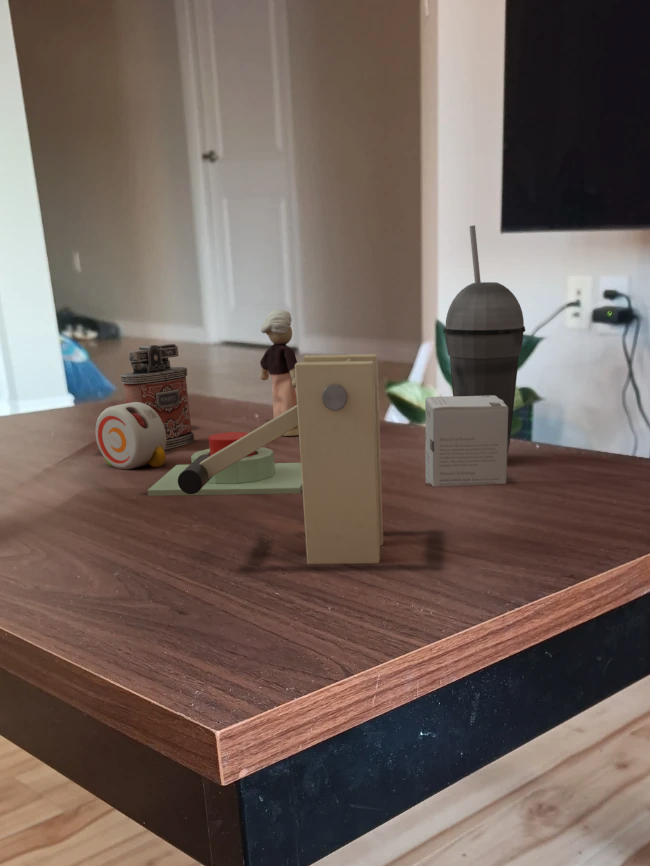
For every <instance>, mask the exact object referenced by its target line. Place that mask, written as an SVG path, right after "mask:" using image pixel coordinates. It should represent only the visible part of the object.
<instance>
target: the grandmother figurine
mask: <svg viewBox="0 0 650 866" xmlns="http://www.w3.org/2000/svg"><path fill="white" fill-rule="evenodd" d="M292 321H293V319H292V315H291V313H290V312H289V311H288V310H284V309H279V308H278V309H274V310H272V311H271V312H270V313H268V315H266V317H265V319H264V321H263V323H262V324H261V327H260V332H261V333H262V334H266V335H267V337H268V339H269V340H270V342H271V343H272V345H271V346H269V347H268V349H266V351H265V352H264V354H263V356H262V357H261V359H260V363H259V364H260V373H259V378H260V380H262V381H267V380H268V379H269V377H270V379H271V381H272V391H271V395H272V411H273V413H272V414H273V419H274V418H276V417H277V416H279V415H281V414H282V413H284V412H286V411H287V410H289V409H291V408H292V407H294V406H296V405H297V395H296V379H295V364H296V363H298V360H297V356H296V352H295V351H294V349H292V348H290V347H289V346H288V344H289V343H290V341H292V338H293V329H292V326H291V325H292ZM294 436H295V437H296V436H298V437H299V426H297V427H295V428H294V429H292V430H290V431H288V432H287V433H285V434H283V435H282V437H294Z"/></svg>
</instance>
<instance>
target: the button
mask: <svg viewBox="0 0 650 866" xmlns="http://www.w3.org/2000/svg"><path fill="white" fill-rule="evenodd" d="M249 433H250V432H246V431H230V432H229V431H228V432H220V433H214V434H211V435H209V436H208V445H209V449H210V455H213V454H215V453H216V452H218V451H220V450H222V449H223V448H225V447H227V446H228V445H230V444H232V443H233V442H235V441H237V440H238V439H240V438H242V437H243V436H245V435H247V434H249ZM253 455H255V451H254V452H253V453H251V454H249V455H248V456H246V457H249V456H253Z"/></svg>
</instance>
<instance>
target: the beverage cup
mask: <svg viewBox="0 0 650 866" xmlns="http://www.w3.org/2000/svg"><path fill="white" fill-rule="evenodd" d="M476 231H477V229H476V224H475V225H469V236H470V237H469V238H470V245H471V246H470V247H471V256H472V257H471V258H472V266H473V276H474V282H472V283H470V284H468V285H466V286H465V287H463V288H462V289H461V290H460V291H459V292H458V293H457V294H456V296H455V297H454V298H453V300H452V301H451V302H450V304H449V307H448V311H447V313H446V318H445V327H444V328H443V333H444V334H445V345H446V349H447V356H449V365H450V375H451V376H450V378H451V388H452V389H451V390H452V396H492V395H494V396H497V397H498V398H499V399H501V400H503V401H504V403H505V404H506V405H507V406H508V437H507V455H508V454H509V448H510V445H511V436H512V425H513V416H514V408H515V407H514V406H515V397H516V387H517V377H518V368H519V358H520V355H521V353H522V347H523V343H524V333H525V332H526V327H525V323H524V313H523V310H522V307H521V304H520V302H519V300H518V299H517V297H516V296H515V294H514V293H513V292H512V291H511V290H510V288H508V287H506V286H505V285H504V284H501V283H500V282H496V281H495V282H494V281H493V282H492V281H488V282H486V281H485V282H481V273H480V262H479V251H478V242H477V241H478V239H477V232H476Z"/></svg>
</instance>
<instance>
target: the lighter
mask: <svg viewBox="0 0 650 866" xmlns="http://www.w3.org/2000/svg"><path fill="white" fill-rule="evenodd" d="M127 354H128V359H129V361H128V362H129V363H130V366H131V367H132V370H133V371H131V372H126V373H121V374H120V380H121V384H123V389H124V397H125V404H127V403H132V402H141V403H144V404H146V405H148V406H150V407H151V408H152V409H153V410H155V412H156V413H157V414H158V415H159V417H160V418H161V420H162V422H163V425H164V428H165V432H166V447H165V450H169V449H174V448H178V447H182V446H186V445H189V444H192V443H195V434H194V432H193V431H192V424H191V423H192V422H191V413H190V404H189V393H188V384H187V377H188V368H187V367H185V366H171V361H170V360H169V358H177V357H179V356H180V355H179V349H178V346H177V345H176V343H164V344H157V345H156V344H141V345H139V347H138V349H134V350H128V353H127Z"/></svg>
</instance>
